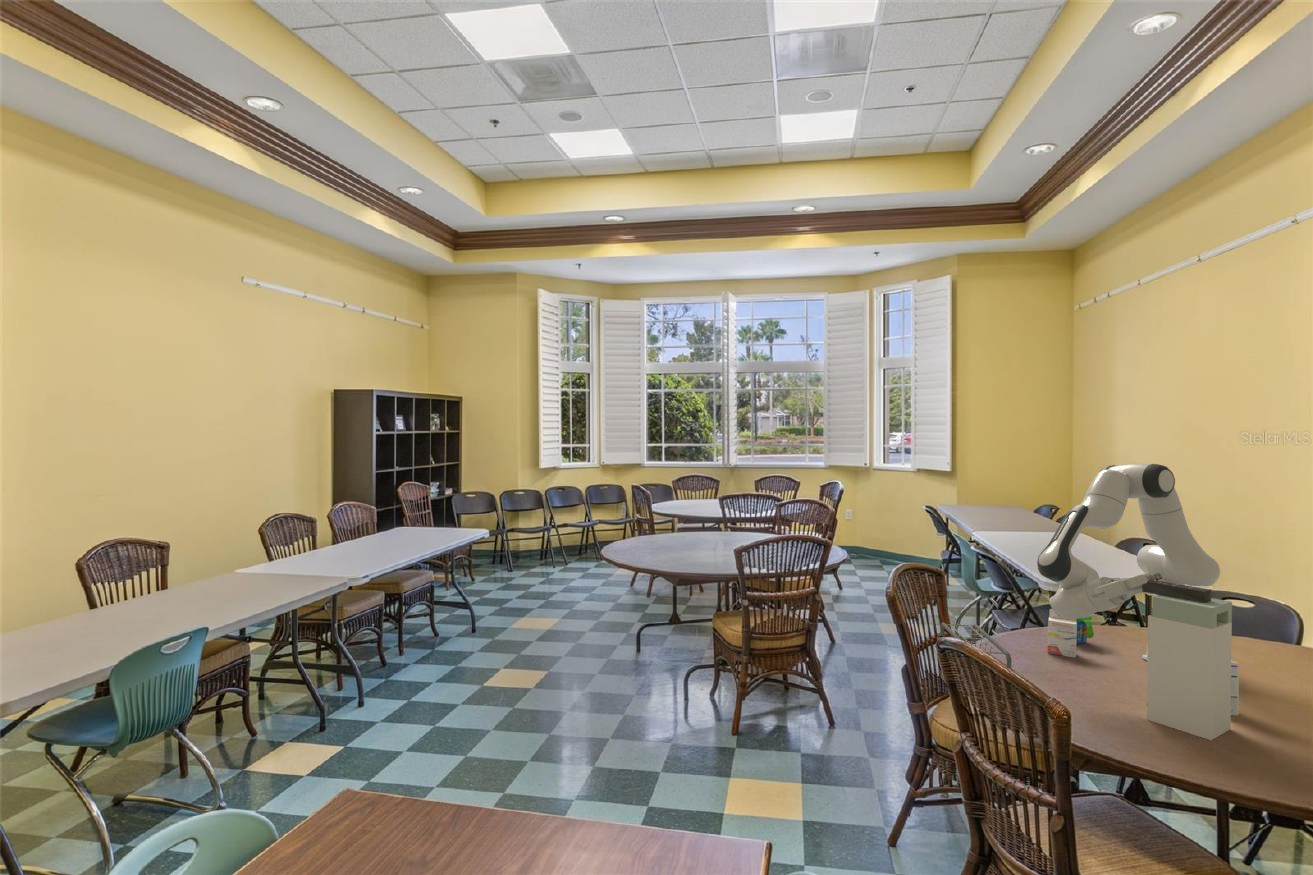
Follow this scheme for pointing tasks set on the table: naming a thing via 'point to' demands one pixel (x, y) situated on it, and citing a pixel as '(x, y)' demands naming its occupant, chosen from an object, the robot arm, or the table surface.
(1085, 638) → the snack cup
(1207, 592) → the domino bar
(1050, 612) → the ink cartridge box
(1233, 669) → the syrup box
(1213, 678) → the slot stand
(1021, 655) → the table surface
